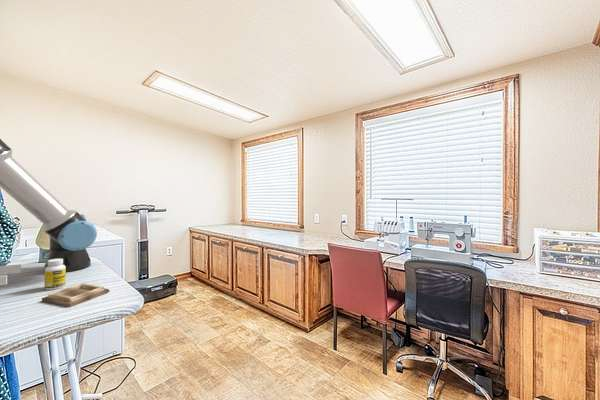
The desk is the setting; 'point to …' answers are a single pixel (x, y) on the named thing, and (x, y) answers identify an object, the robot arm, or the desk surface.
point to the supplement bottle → (55, 274)
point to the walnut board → (75, 295)
